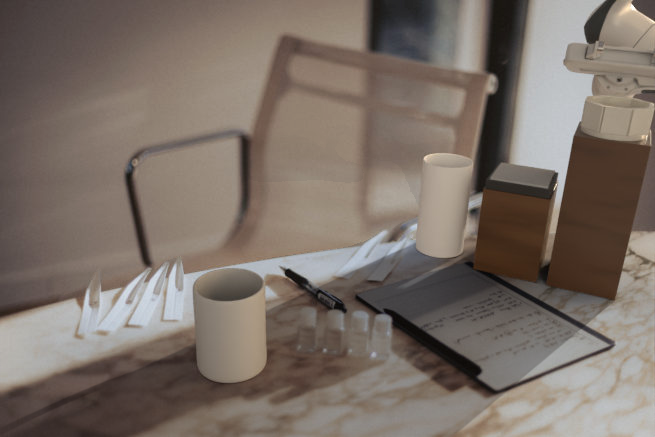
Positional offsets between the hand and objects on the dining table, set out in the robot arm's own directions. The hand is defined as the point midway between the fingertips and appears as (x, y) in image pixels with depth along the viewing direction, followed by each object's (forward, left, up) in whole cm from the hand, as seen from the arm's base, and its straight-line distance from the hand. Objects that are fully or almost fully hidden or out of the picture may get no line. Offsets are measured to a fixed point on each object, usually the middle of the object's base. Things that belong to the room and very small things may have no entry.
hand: (629, 48), depth 106 cm
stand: (+15, +18, -33) cm, 41 cm away
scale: (+20, +15, -19) cm, 32 cm away
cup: (+31, +9, -34) cm, 47 cm away
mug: (+64, +41, -34) cm, 83 cm away
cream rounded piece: (+7, +15, -9) cm, 19 cm away
